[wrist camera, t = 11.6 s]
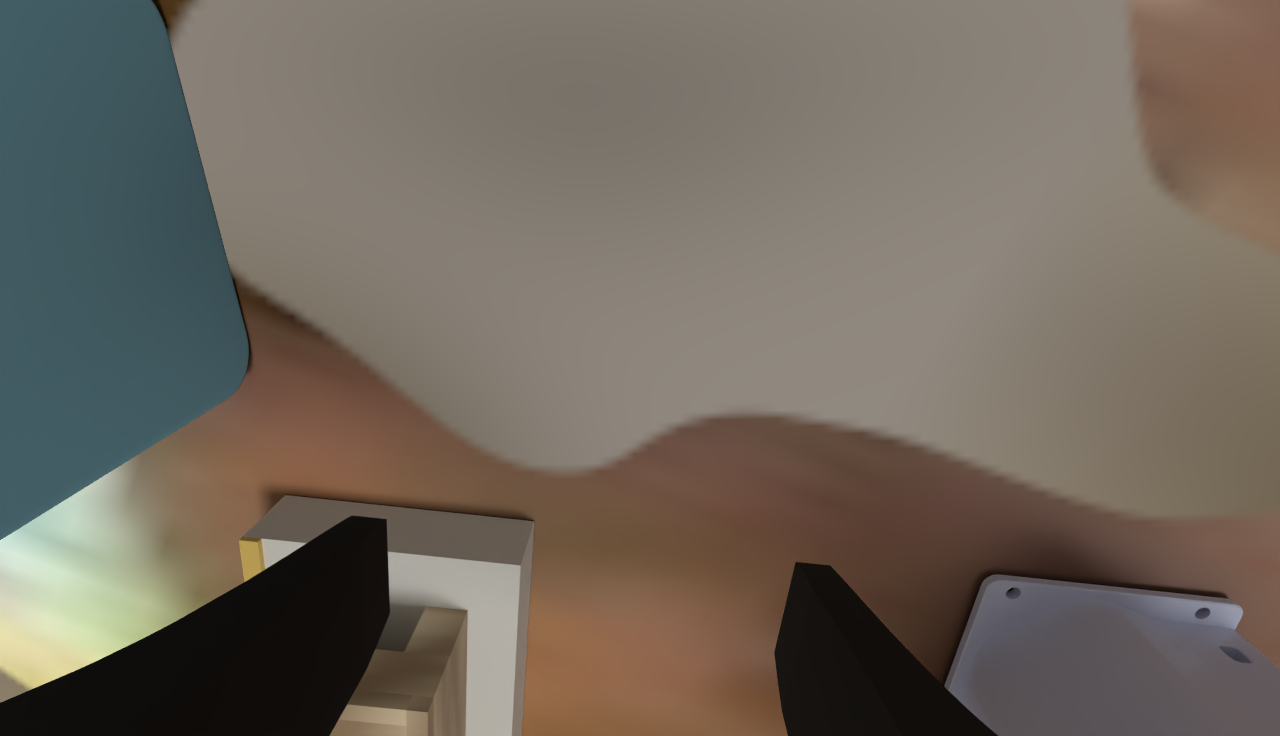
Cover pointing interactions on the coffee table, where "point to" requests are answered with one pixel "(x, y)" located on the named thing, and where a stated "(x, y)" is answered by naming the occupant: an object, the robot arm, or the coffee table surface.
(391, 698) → the wooden box
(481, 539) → the dock
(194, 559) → the coffee table surface
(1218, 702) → the robot arm
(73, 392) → the data package
